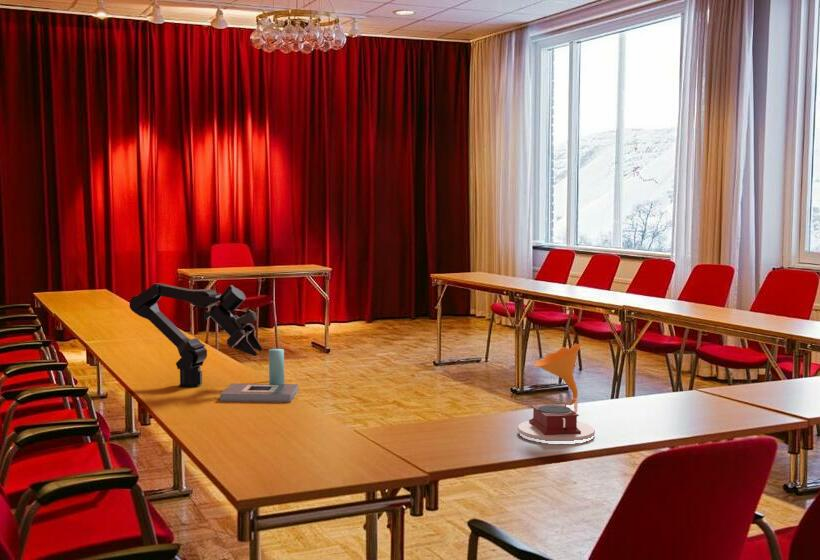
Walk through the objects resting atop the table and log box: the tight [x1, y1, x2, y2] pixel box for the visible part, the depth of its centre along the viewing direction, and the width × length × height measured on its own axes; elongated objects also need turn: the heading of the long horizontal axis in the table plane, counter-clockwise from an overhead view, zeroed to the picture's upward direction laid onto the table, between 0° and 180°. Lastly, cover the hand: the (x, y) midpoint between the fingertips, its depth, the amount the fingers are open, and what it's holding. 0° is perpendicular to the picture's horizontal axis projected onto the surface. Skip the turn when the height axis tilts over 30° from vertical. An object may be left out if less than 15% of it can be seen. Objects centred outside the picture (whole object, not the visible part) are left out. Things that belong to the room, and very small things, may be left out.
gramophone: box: [517, 342, 596, 441], centre depth 243 cm, size 20×20×25 cm
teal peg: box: [268, 348, 285, 384], centre depth 302 cm, size 5×5×13 cm
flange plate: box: [219, 382, 299, 403], centre depth 290 cm, size 22×16×3 cm
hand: (259, 352), depth 302 cm, fingers open, 9 cm apart
